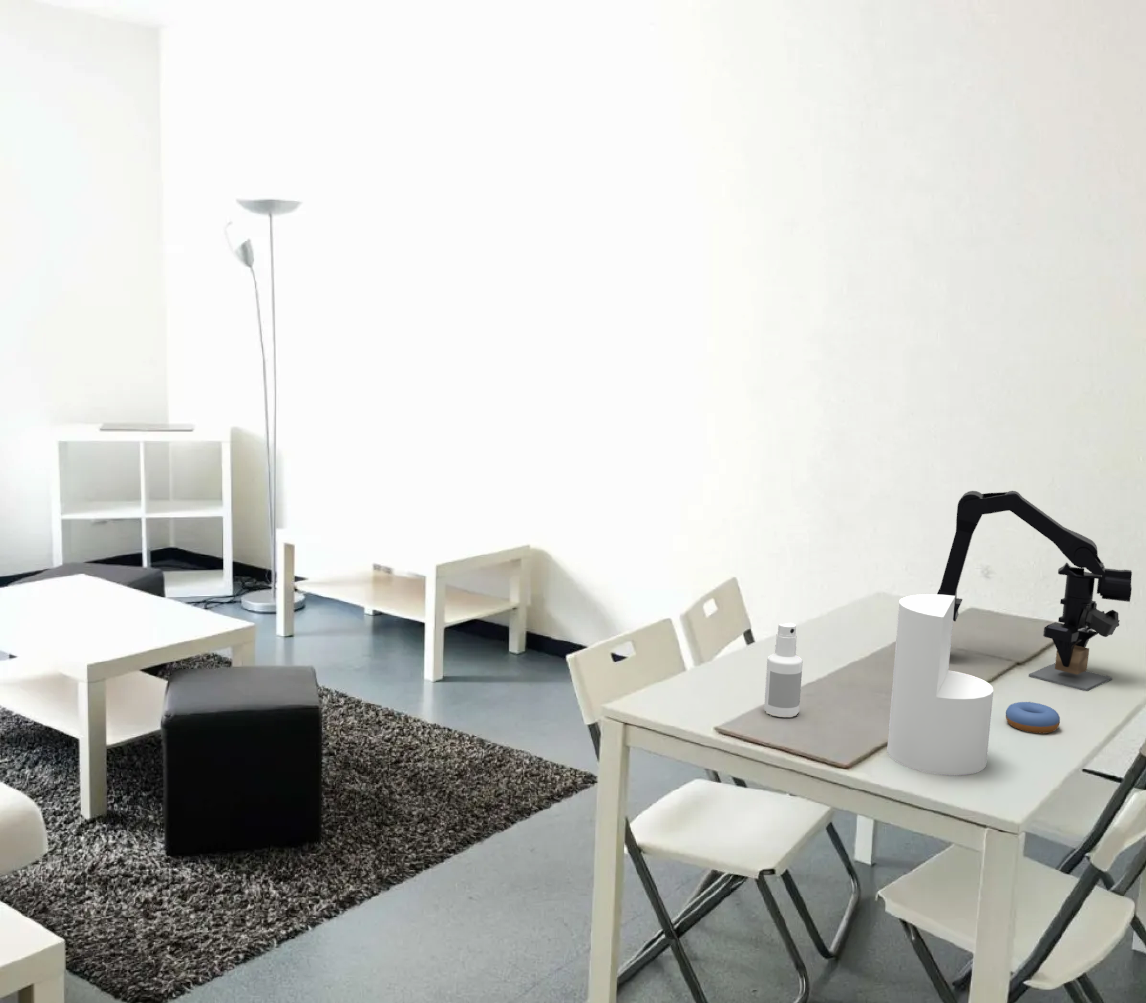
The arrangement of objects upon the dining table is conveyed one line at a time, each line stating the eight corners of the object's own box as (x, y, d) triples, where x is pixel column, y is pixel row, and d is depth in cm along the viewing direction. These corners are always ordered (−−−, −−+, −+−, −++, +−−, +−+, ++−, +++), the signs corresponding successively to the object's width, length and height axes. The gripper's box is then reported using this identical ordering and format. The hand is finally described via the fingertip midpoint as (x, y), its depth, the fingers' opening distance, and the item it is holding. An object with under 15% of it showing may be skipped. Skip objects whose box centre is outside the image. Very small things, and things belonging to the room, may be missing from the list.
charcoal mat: (1086, 691, 259) (1086, 688, 259) (1028, 676, 268) (1028, 674, 268) (1111, 679, 268) (1111, 677, 268) (1054, 665, 277) (1054, 663, 277)
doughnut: (995, 724, 236) (1000, 702, 235) (1014, 715, 243) (1019, 693, 242) (1046, 742, 229) (1051, 720, 229) (1064, 732, 237) (1069, 710, 236)
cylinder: (879, 764, 214) (891, 610, 209) (895, 733, 230) (906, 589, 225) (981, 782, 207) (996, 624, 202) (990, 749, 223) (1004, 602, 218)
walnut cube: (1077, 674, 264) (1079, 652, 263) (1054, 669, 268) (1057, 647, 267) (1086, 670, 268) (1089, 648, 267) (1064, 664, 271) (1067, 643, 270)
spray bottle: (778, 720, 234) (783, 630, 231) (757, 709, 240) (762, 621, 237) (806, 716, 237) (812, 627, 234) (784, 705, 243) (790, 618, 240)
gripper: (1097, 610, 253) (1089, 681, 255) (1133, 597, 266) (1125, 665, 268) (1045, 599, 261) (1038, 669, 263) (1082, 587, 273) (1075, 653, 276)
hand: (1071, 664), depth 267 cm, fingers closed on walnut cube, 5 cm apart
